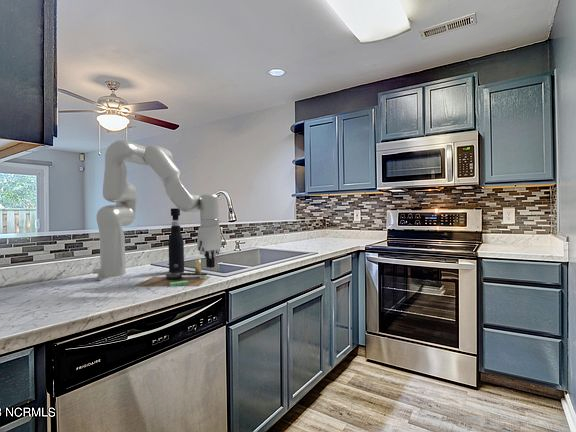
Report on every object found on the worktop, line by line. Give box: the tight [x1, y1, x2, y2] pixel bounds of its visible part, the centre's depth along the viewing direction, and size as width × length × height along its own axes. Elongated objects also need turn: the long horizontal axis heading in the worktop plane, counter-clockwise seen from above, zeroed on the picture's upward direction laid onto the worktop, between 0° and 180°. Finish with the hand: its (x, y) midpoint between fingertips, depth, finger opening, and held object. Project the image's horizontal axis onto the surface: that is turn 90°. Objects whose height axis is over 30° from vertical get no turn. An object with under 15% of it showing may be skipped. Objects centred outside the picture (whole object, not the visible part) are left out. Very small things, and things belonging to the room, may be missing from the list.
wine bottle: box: [168, 207, 185, 273], centre depth 142 cm, size 6×6×30 cm
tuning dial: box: [165, 258, 208, 280], centre depth 129 cm, size 16×6×8 cm, turn 88°
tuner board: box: [135, 275, 211, 287], centre depth 125 cm, size 24×16×2 cm
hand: (210, 267), depth 134 cm, fingers closed
